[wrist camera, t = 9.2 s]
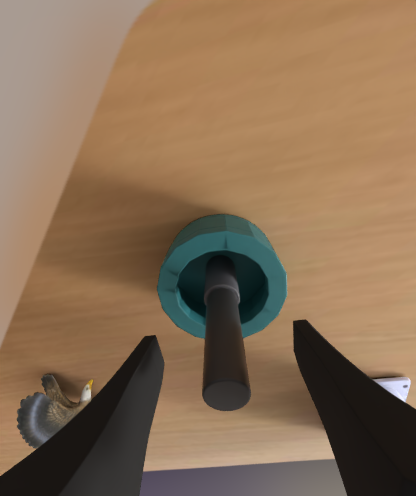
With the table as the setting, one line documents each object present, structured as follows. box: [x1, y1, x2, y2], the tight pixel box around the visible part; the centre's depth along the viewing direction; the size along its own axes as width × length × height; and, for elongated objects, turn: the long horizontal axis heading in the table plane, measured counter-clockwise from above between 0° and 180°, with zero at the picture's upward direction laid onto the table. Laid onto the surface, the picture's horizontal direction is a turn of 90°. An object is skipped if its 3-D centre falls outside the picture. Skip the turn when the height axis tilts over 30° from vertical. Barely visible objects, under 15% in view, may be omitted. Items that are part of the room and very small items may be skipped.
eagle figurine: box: [17, 374, 93, 448], centre depth 25 cm, size 8×7×9 cm
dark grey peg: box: [202, 255, 251, 411], centre depth 14 cm, size 2×2×11 cm
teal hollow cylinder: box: [157, 214, 287, 339], centre depth 18 cm, size 9×9×4 cm
